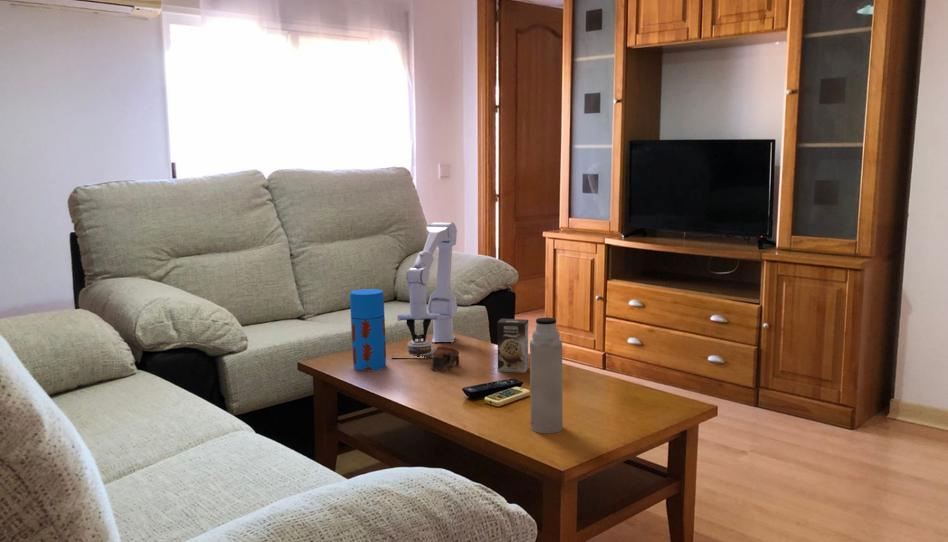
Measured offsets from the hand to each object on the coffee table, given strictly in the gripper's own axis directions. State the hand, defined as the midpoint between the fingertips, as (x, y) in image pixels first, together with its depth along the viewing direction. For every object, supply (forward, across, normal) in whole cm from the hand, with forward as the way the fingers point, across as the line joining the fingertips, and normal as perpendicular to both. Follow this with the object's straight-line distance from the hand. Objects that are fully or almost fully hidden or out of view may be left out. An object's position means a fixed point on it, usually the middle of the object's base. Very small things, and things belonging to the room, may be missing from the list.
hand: (419, 340), depth 272 cm
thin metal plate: (+5, 0, 0) cm, 5 cm away
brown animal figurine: (+5, +10, -19) cm, 23 cm away
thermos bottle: (+5, +39, -76) cm, 86 cm away
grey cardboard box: (+5, +32, -22) cm, 39 cm away
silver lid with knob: (+1, 0, 0) cm, 1 cm away
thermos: (+5, -15, -16) cm, 22 cm away
